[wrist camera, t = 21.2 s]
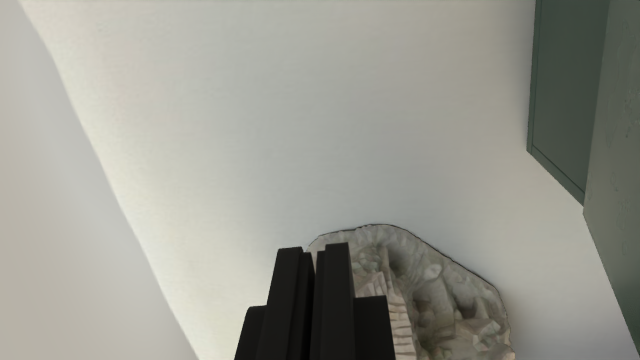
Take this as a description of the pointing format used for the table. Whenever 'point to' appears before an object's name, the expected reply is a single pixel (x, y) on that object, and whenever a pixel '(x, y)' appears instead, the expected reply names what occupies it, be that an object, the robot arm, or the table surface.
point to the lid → (618, 162)
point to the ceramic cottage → (425, 296)
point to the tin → (566, 87)
